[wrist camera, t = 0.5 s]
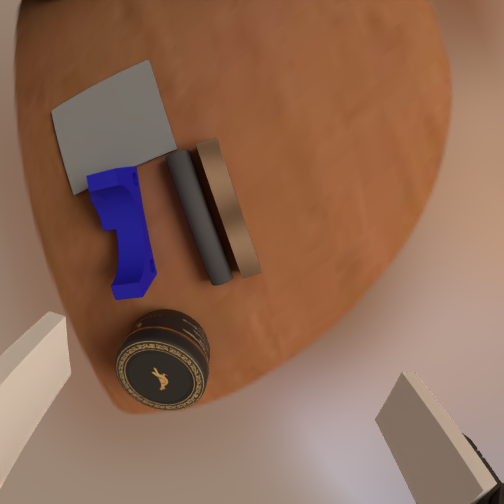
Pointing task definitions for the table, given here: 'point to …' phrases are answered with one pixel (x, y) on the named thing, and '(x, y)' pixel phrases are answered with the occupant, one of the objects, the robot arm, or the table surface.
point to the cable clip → (124, 228)
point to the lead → (199, 217)
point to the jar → (164, 361)
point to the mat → (113, 125)
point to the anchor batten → (228, 207)
